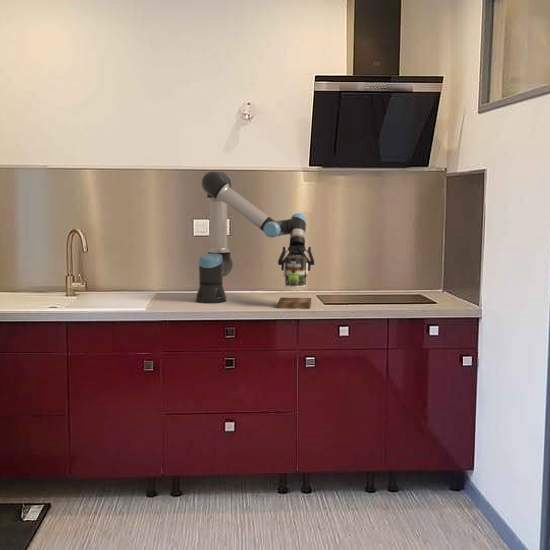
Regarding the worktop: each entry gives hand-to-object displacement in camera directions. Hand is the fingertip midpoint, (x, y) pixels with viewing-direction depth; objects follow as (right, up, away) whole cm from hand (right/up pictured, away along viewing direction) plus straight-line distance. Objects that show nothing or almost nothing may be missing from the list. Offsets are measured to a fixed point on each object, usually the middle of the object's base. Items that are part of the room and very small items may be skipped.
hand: (295, 275), depth 342 cm
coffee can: (0, -5, +3) cm, 6 cm away
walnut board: (0, -15, +5) cm, 16 cm away
